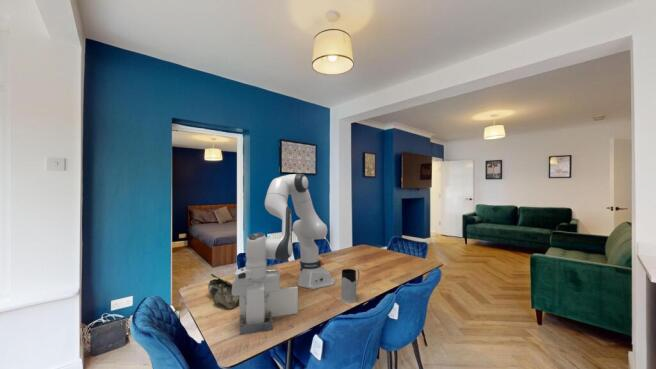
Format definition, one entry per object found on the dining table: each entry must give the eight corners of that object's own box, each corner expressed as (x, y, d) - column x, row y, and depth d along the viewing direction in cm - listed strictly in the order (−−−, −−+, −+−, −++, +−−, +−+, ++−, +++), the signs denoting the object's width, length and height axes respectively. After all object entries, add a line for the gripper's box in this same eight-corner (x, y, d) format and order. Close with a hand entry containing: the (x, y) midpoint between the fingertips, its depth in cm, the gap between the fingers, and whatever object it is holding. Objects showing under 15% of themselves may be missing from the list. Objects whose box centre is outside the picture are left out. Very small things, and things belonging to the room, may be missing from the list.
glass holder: (337, 300, 140) (337, 271, 140) (352, 291, 151) (352, 265, 151) (350, 304, 134) (350, 275, 134) (365, 295, 145) (365, 268, 145)
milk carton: (249, 317, 118) (249, 275, 119) (265, 317, 119) (265, 274, 119) (246, 326, 111) (246, 280, 111) (263, 325, 112) (263, 280, 112)
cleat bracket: (270, 317, 120) (270, 311, 121) (272, 329, 110) (272, 322, 110) (240, 322, 117) (240, 315, 117) (239, 334, 107) (239, 327, 107)
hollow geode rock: (213, 301, 149) (193, 286, 142) (229, 281, 155) (210, 266, 149) (234, 317, 128) (212, 301, 122) (252, 294, 135) (232, 277, 128)
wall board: (296, 311, 127) (296, 286, 127) (297, 313, 125) (297, 287, 125) (239, 319, 119) (239, 292, 119) (239, 321, 117) (239, 294, 117)
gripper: (279, 266, 122) (279, 297, 121) (232, 271, 116) (232, 302, 116) (281, 271, 116) (281, 302, 115) (231, 275, 110) (231, 309, 109)
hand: (256, 302), depth 115 cm, fingers closed on milk carton, 7 cm apart
